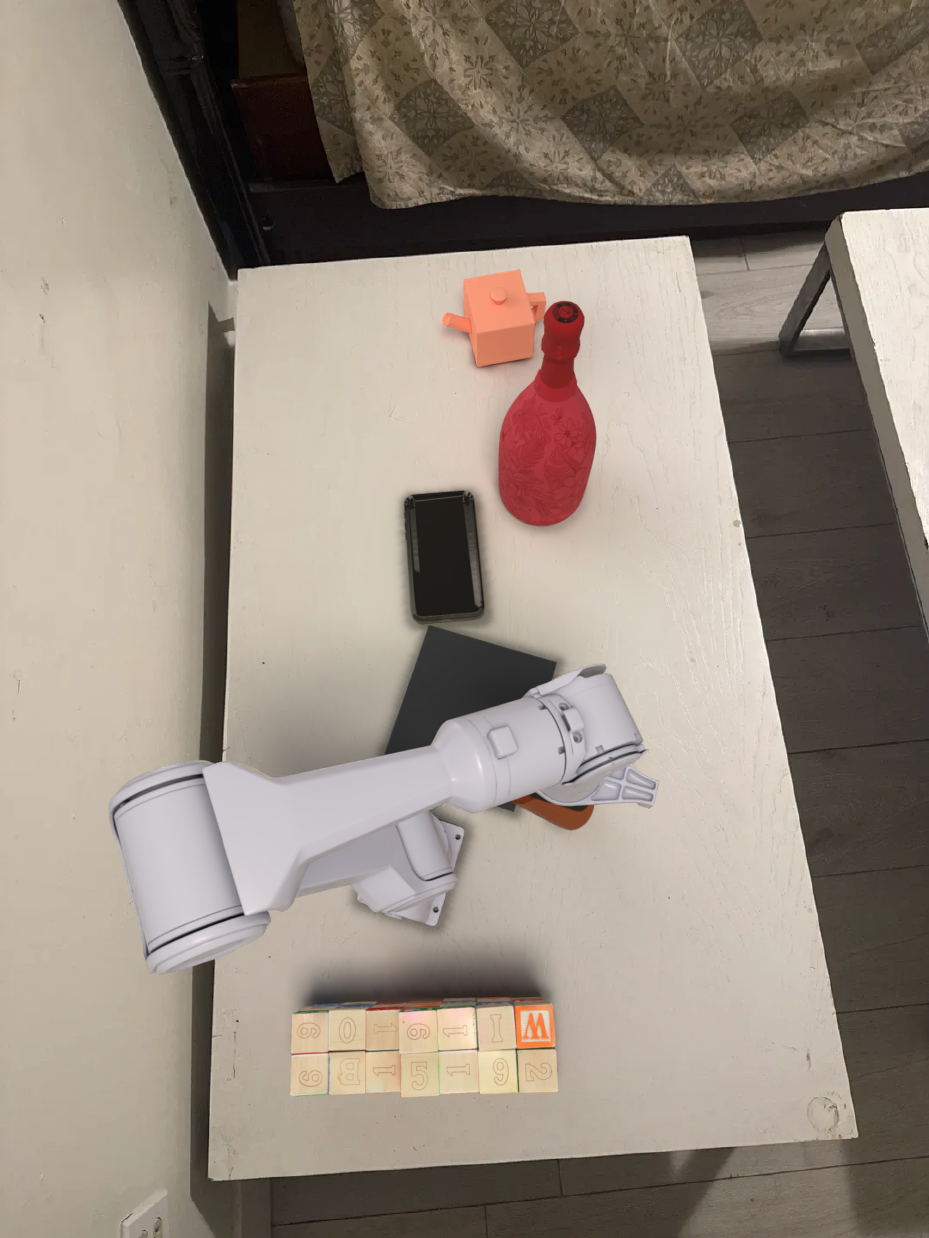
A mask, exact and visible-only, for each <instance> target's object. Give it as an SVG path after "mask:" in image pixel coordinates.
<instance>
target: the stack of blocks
mask: <svg viewBox="0 0 929 1238" xmlns="http://www.w3.org/2000/svg"><path fill="white" fill-rule="evenodd" d="M554 1014H555V1012H554V1005H553V1003H551V1002H550V1001H549V1000H547V999H544V997H542V996H527V997H525V996H524V997H522V996H520V997H519V996H518V997H509V996H489V997H486V996H485V997H452V998H451V997H449V998H447V997H446V998H443V999H435V1000H411V1001H394V1002H393V1001H392V1002H378V1001H376V1000H375V1001H346V1002H336V1003H312V1004H309V1005H307V1006H304V1007H301V1008H299V1009H298V1011H296V1012H293V1013H292V1014H291V1041H290V1054H291V1058H290V1059H291V1060H290V1088H289V1089H290V1090H289V1092H290V1093H289V1096H290V1097H309V1096H324V1095H325V1096H326V1095H328V1096H341V1095H344V1096H345V1095H361V1094H362V1095H363V1094H385V1093H386V1094H387V1093H398V1092H400V1098H424V1097H439V1096H440V1095H457V1094H476V1093H477V1094H479V1095H497V1094H499V1095H500V1094H516V1093H520V1094H543V1093H544V1094H545V1093H558V1092H559V1080H558V1079H559V1078H558V1059H557V1049H556V1027H555V1015H554Z"/></svg>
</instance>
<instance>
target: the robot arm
mask: <svg viewBox="0 0 929 1238" xmlns="http://www.w3.org/2000/svg"><path fill="white" fill-rule="evenodd" d="M607 668H608V667H607V665H606V664H604V663H594V664H590V665H589V664H588V665H586V666H582V667H580V668H576V669H573V670H571V671H567V672H566V673H563V674H562V675H559V676H557V677H555V678H554V679H553V678H552V681H550V682H547V683H545V684H542V685H539V686H537V687H535V688H532V689H530V690H529V691H528V692H527V693H526V694H525V695H524V696H523V697H522V698H521V699H519V700H515V701H512V702H508V703H505V704H502V705H498V706H495V707H492V708H488V709H485V710H481V711H478V712H475V713H471V714H468V715H464V716H461V717H457V718H454V719H451V720H448V721H446V722H445V723H443V724H442V726H441V727H440V729H439V730H438V732H437V734H436V736H435V738H434V740H433V742H432V744H431V745H430V746H426V747H421V748H416V749H412V750H407V751H402V752H397V753H393V754H388V755H385V754H384V755H378V756H374V757H370V758H365V759H360V760H355V761H349V762H346V763H342V764H335V765H332V766H327V767H326V766H325V767H323V768H317V769H313V770H308V771H304V772H303V771H302V772H299V773H294V774H289V775H285V776H279V777H276V776H275V777H274V776H270V775H269V774H266V773H264V772H262V771H261V770H259V769H257V768H255V767H253V766H252V765H250V764H247V763H245V762H240V761H234V760H224V761H219V762H216V763H214V762H211V761H209V760H205V759H204V760H203V759H194V760H192V759H191V760H184V761H179V762H175V763H170V764H167V765H163V766H160V767H157V768H153V769H151V770H149V771H146V772H143V773H142V774H139V775H137V776H135V777H133V778H131V779H129V780H128V781H126V782H125V783H124V784H122V785H121V786H120V787H119V788H118V790H117V791H116V793H115V794H114V795H113V796H112V797H111V799H110V800H109V802H108V808H107V809H108V821H109V825H110V828H111V832H112V835H113V838H114V840H115V842H116V846H117V848H118V852H119V854H120V859H121V862H122V866H123V869H124V873H125V878H126V881H127V885H128V889H129V892H130V897H131V901H132V904H133V909H134V913H135V916H136V920H137V924H138V929H139V932H140V937H141V942H142V951H143V958H144V962H145V966H146V969H147V973H148V974H157V975H160V976H162V975H166V974H167V975H168V974H171V973H175V972H180V971H182V970H187V969H189V968H193V967H195V966H199V965H201V964H204V963H207V962H210V961H214V960H216V959H217V960H218V959H219V958H222V957H224V956H227V955H229V954H232V953H234V952H235V951H237V950H239V949H241V948H243V947H245V946H247V945H249V944H251V943H253V942H255V941H257V940H258V939H260V938H262V937H263V936H264V935H265V933H266V930H267V929H268V926H269V925H271V923H272V917H271V914H270V911H278V912H281V913H284V912H286V911H288V910H289V909H290V908H291V907H292V906H293V904H294V902H295V901H296V899H298V898H302V897H307V896H310V895H314V894H318V893H322V892H326V891H331V890H334V889H338V888H342V887H347V886H349V885H350V887H351V888H352V889H353V890H354V891H355V893H356V894H357V897H356V899H357V901H358V902H359V903H361V904H362V905H363V904H364V905H366V906H367V907H368V908H369V909H370V910H371V911H372V912H373V913H374V914H377V913H380V912H381V913H382V914H383V915H384V916H387V917H390V918H393V919H396V920H399V921H403V919H404V918H405V919H409V920H411V921H415V922H418V923H421V924H424V925H427V926H429V927H435V926H436V925H437V924H438V923H439V920H440V917H441V914H442V910H443V906H444V904H445V903H444V902H445V900H446V897H447V893H448V892H450V891H452V890H454V889H455V887H456V885H457V882H458V881H459V877H458V876H457V873H456V872H455V873H454V871H455V867H456V863H457V860H458V857H459V853H460V851H461V847H462V844H463V841H464V838H465V833H466V831H465V829H464V828H463V827H461V826H459V825H456V824H452V823H450V822H446V821H443V820H440V819H438V817H437V816H436V815H434V814H433V813H432V811H431V810H432V809H435V808H436V807H439V806H440V805H443V804H446V805H447V804H448V805H450V806H452V807H455V808H456V809H459V810H461V811H463V812H466V813H468V814H478V813H480V812H483V811H486V810H490V809H493V808H495V807H497V806H498V805H501V804H504V803H506V802H509V801H512V800H515V799H518V798H521V797H523V796H526V795H529V796H530V797H532V798H535V799H538V800H541V801H544V802H547V803H551V804H552V803H553V804H556V805H557V806H560V807H564V808H567V809H570V810H573V811H578V812H581V811H584V810H585V809H586V808H587V807H588V806H589V805H594V806H595V805H597V806H598V805H599V806H600V805H616V804H637V806H639V807H643V808H645V809H651V808H652V807H654V805H655V803H656V799H657V794H658V789H659V785H660V780H658V779H656V778H653V777H650V776H648V775H646V774H644V773H642V772H641V771H639V770H637V769H636V768H635V767H633V765H632V764H634V763H635V762H637V761H638V760H640V759H641V758H642V757H643V756H644V755H646V754H648V752H649V751H650V749H648V748H646V747H645V745H644V743H643V742H644V739H643V736H642V734H641V732H640V730H639V728H638V726H637V724H636V722H635V719H634V717H633V715H632V713H631V712H630V709H629V707H628V705H627V703H626V701H625V699H624V696H623V695H622V692H621V690H620V689H619V686H618V684H617V682H616V680H615V678H614V675H613V674H611V673H608V672H607V673H605V672H606V671H607ZM457 836H460V838H459V839H457V838H456V837H457ZM435 908H437V909H438V910H437V912H435V911H434V909H435Z"/></svg>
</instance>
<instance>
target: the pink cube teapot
mask: <svg viewBox="0 0 929 1238" xmlns="http://www.w3.org/2000/svg"><path fill="white" fill-rule="evenodd" d="M462 283H463V284H462V285H463V286H462V289H463V291H462V292H463V316H461V315H457V314H454V313H451V312H445V313H444V314H443V317H442V320H441V321H442V325H443V326H444V327H447V328H450V329H453V330H458V331H460V332H464V333H467V334H468V336H469V339H470V345H471V348H472V352H473V356H474V360H475V364H476V367H477V368H479V367H486V366H491V365H496V364H502V363H507V362H513V361H519V360H523V359H529V358H533V353H534V342H535V341H534V340H535V330H536V324H537V323H539V322H540V321H543V320H544V315H545V313H546V307H547V298H546V295H545V292H544V291H539V292H527V290H526V289H527V288H526V287H525V282H524V279H523V276H522V273H521V269H520V268H518V269H513V270H507V271H502V272H496V273H490V274H485V275H480V276H473V277H468V278H463V279H462Z"/></svg>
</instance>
